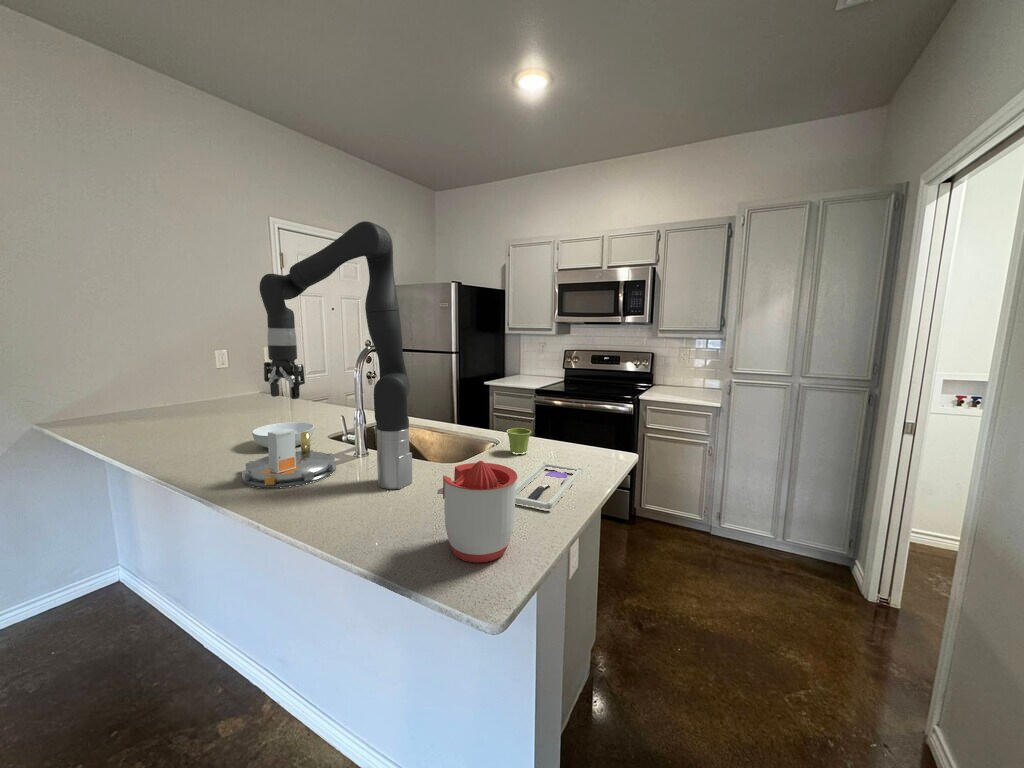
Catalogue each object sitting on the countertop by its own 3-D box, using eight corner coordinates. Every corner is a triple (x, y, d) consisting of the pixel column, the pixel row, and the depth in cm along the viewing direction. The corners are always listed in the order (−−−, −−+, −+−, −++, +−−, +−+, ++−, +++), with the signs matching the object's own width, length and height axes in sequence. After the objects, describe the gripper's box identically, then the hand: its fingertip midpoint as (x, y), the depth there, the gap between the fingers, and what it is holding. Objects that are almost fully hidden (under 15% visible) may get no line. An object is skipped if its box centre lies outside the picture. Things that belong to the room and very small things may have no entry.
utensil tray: (581, 474, 138) (582, 469, 138) (550, 512, 110) (550, 505, 109) (543, 468, 144) (543, 462, 143) (504, 502, 115) (504, 495, 115)
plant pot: (501, 453, 158) (501, 431, 157) (515, 448, 166) (515, 426, 165) (521, 458, 153) (522, 435, 152) (535, 452, 161) (536, 430, 160)
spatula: (537, 509, 112) (537, 500, 112) (515, 504, 115) (515, 495, 115) (568, 481, 134) (568, 473, 133) (548, 477, 137) (548, 469, 136)
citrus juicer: (454, 525, 101) (454, 445, 98) (523, 538, 96) (526, 454, 93) (422, 560, 86) (421, 466, 84) (502, 576, 81) (504, 478, 79)
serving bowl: (268, 438, 171) (267, 421, 170) (322, 438, 173) (321, 421, 172) (241, 454, 150) (240, 435, 149) (303, 453, 153) (302, 435, 152)
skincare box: (277, 474, 123) (275, 434, 121) (269, 471, 125) (266, 432, 123) (297, 468, 128) (295, 430, 126) (288, 465, 130) (286, 427, 128)
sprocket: (348, 456, 147) (347, 431, 145) (317, 485, 120) (315, 454, 119) (270, 455, 145) (269, 430, 144) (221, 484, 119) (219, 453, 118)
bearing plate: (353, 467, 140) (353, 464, 139) (282, 495, 116) (282, 491, 116) (298, 455, 150) (298, 452, 150) (223, 478, 127) (223, 475, 126)
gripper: (310, 344, 125) (312, 397, 127) (277, 342, 131) (279, 393, 133) (288, 345, 118) (291, 401, 121) (254, 343, 124) (257, 397, 126)
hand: (285, 397), depth 127 cm, fingers open, 8 cm apart
